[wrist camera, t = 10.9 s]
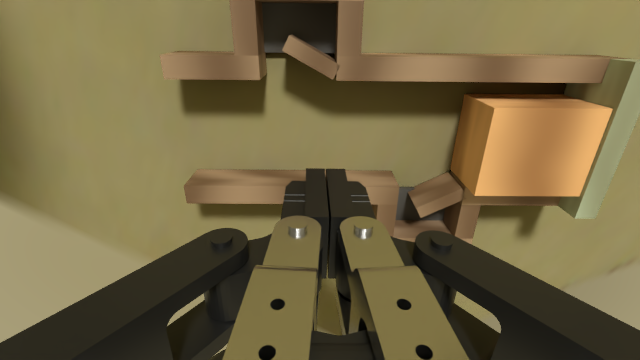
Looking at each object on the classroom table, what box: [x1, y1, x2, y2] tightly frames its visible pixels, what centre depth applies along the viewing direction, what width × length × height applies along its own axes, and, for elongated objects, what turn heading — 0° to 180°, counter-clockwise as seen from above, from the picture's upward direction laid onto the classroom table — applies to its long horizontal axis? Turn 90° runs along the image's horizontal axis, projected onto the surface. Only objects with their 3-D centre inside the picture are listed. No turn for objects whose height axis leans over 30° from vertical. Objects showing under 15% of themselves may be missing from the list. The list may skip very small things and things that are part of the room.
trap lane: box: [160, 0, 640, 244], centre depth 19 cm, size 24×16×4 cm, turn 89°
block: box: [450, 94, 613, 196], centre depth 20 cm, size 6×5×4 cm
